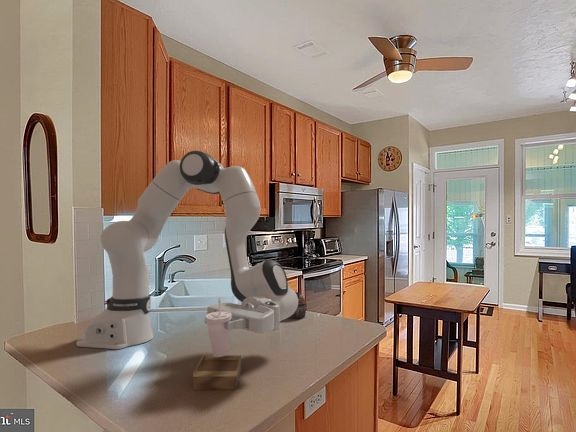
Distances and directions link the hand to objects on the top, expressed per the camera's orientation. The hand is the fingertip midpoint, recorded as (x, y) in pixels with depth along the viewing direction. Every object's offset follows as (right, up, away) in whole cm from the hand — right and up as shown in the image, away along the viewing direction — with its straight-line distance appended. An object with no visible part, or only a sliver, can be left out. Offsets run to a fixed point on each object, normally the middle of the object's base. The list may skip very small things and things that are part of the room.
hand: (216, 323), depth 83 cm
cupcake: (+21, -16, +58) cm, 63 cm away
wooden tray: (0, -14, 0) cm, 14 cm away
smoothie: (+1, -8, +1) cm, 8 cm away
